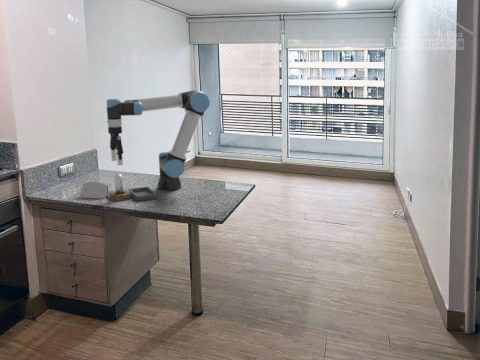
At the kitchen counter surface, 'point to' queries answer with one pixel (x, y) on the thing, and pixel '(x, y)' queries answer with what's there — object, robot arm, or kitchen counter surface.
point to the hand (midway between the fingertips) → (117, 162)
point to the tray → (143, 194)
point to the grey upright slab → (94, 190)
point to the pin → (118, 184)
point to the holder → (119, 196)
